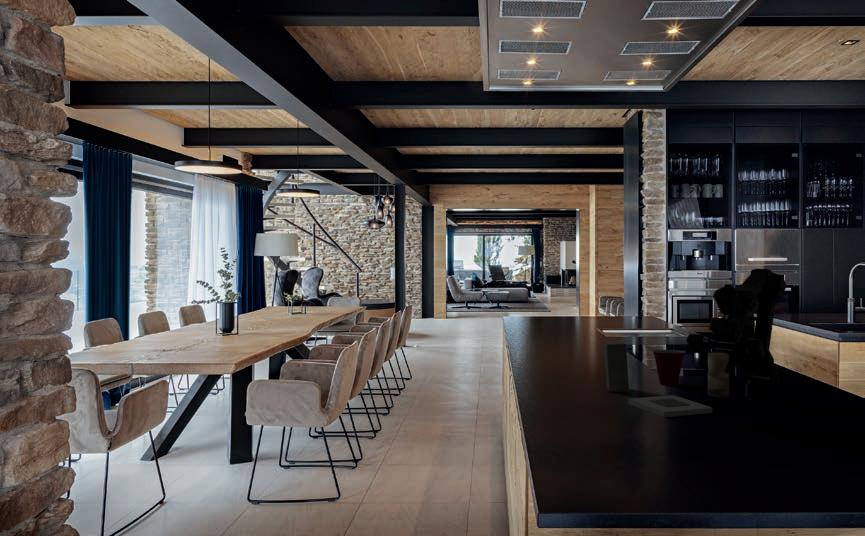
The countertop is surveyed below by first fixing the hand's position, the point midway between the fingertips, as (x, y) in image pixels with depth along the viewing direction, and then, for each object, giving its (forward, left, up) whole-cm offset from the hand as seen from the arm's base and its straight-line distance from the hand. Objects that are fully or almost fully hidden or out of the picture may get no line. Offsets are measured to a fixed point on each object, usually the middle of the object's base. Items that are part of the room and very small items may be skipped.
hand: (716, 371), depth 155 cm
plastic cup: (+9, -47, -14) cm, 50 cm away
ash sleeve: (-1, -1, -7) cm, 7 cm away
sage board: (+11, -11, -13) cm, 21 cm away
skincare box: (+26, -33, -14) cm, 44 cm away
